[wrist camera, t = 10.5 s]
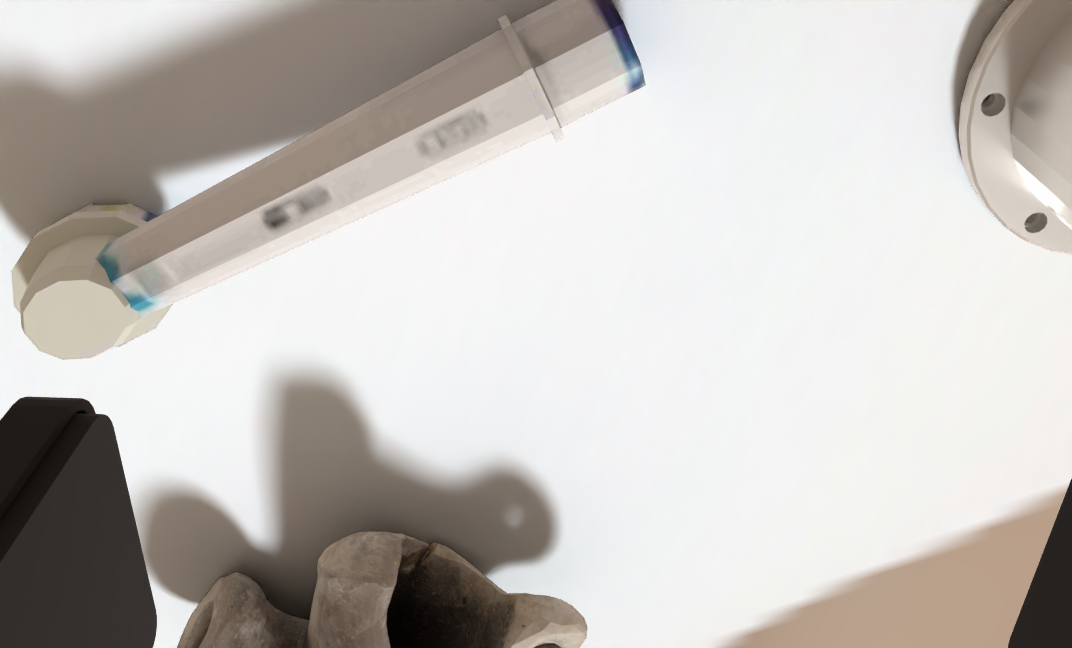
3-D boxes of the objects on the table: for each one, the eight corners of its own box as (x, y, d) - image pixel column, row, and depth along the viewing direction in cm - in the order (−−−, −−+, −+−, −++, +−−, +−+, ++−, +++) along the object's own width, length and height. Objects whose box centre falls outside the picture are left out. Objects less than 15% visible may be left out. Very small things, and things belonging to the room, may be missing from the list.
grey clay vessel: (434, 535, 60) (580, 492, 48) (460, 691, 57) (619, 687, 46) (147, 582, 50) (241, 543, 38) (166, 771, 48) (271, 792, 36)
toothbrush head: (663, 115, 34) (39, 426, 36) (622, 69, 40) (86, 339, 42) (603, -29, 32) (-63, 314, 34) (569, -56, 38) (3, 238, 40)
